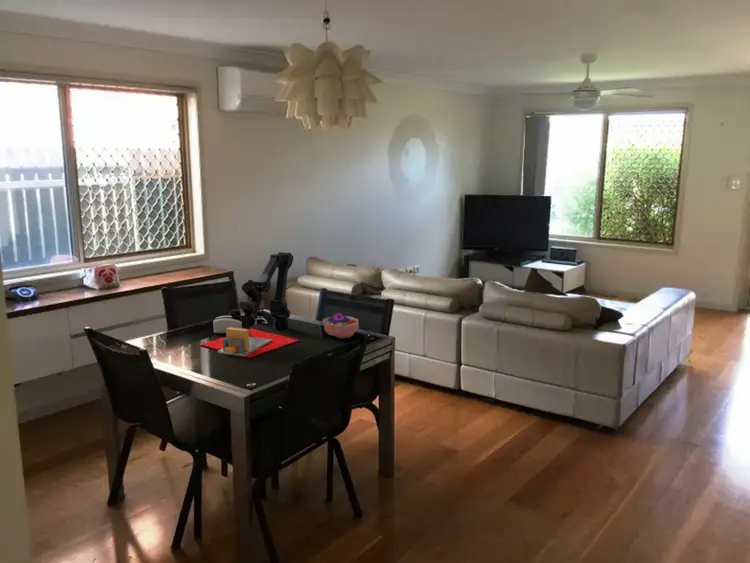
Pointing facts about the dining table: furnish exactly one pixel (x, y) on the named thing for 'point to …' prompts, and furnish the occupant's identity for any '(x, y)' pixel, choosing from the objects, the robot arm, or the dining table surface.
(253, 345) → the baseplate
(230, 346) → the tan chunky block
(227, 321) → the grey napkin holder
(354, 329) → the cell model
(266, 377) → the dining table surface
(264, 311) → the brown round-based stand
